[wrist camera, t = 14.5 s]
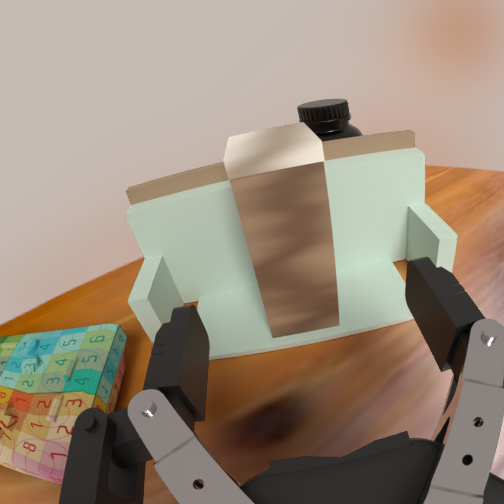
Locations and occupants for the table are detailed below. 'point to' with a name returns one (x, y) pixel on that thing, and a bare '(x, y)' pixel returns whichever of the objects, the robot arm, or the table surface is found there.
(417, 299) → the robot arm
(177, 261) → the mint green shelf
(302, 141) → the brown wooden block
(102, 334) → the puzzle game
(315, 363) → the table surface
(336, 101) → the supplement bottle
